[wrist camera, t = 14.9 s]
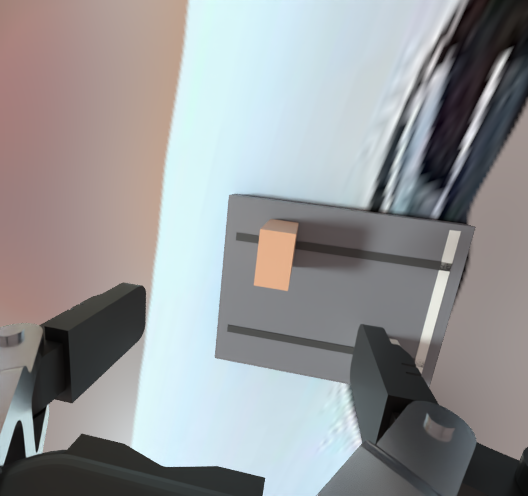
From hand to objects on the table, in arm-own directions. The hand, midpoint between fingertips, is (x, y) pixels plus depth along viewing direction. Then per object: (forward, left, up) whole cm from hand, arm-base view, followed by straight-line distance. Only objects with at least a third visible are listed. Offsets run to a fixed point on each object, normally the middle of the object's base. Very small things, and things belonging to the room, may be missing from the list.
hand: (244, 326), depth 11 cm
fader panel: (0, +7, -18) cm, 19 cm away
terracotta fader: (0, 0, -15) cm, 15 cm away
